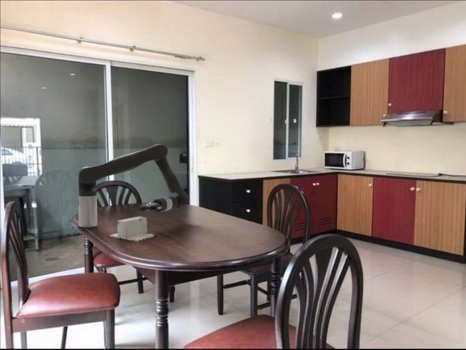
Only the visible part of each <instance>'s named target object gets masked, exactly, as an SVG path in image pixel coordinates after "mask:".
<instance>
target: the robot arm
mask: <svg viewBox="0 0 466 350" xmlns="http://www.w3.org/2000/svg"><path fill="white" fill-rule="evenodd" d="M168 153H169V149H168V147H167V146H166V145H165V144H162V143H157V144H155V145H152V146H149V147H147V148H145V149H142V150H138V151H135V152H131V153H128V154H127V153H126V154H123V155H121V156H117V157H115V158H112V159H111V160H108V161H106V162H104V163H102V164H98V165H93V166H82V168H80V170H79V171H78V174H77V175H78V176H77V177H78V200H79V201H78V206H79V207H78V209H77V213H78V219H77V220H78V226H79V227H80V228H93V227H94V228H95V227H97V226H98V202H97V201H98V200H97V198H98V195H97V191H98V190H97V182H98V181H99V180H102V179H103V178H106V177H110V176H114V175H119V174H122V173H126V172H129V171H132V170H134V169H136V168H138V167H140V166H142V165H143V164H145V163H148V162H150V161H151V162H152V161H154V163H155V164H156V165H157V167H158V169H159V171H160V172H161V175H162V177H163V179H164V181H165V183H166V186H167V188H168V191H169V192H170V194H177V195H176V196H175V197H174V196H167V197H159V198H155V199H153V200H152V201H151V202H149V203H145V202H143V203H142V204H141V206H139V208H138V210H139V211H140V212H146V211H147V212H149V211H150V212H151V211H152V212H153V211H154V212H155V213H163V212H166V211H167V212H168V211H169V210H173V209H174V210H178V209H181V208H183V207H185V206H187V205H188V204H189V203H190V196H189V195H188V193H186V191H185V190H184V189H183V187H182V186H181V184H180V181H179V180H178V178H177V176H176V174H175V172H174V171H173V170H172V168H171V167H170V165H169V161H168V159H167V156H168Z"/></svg>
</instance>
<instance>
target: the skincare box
mask: <svg viewBox="0 0 466 350" xmlns="http://www.w3.org/2000/svg"><path fill="white" fill-rule="evenodd" d="M147 224H148V219H147V217H146V216H145V217H144V216H140V215H139V216H134V217H129V218H124V219H119V220H117V228H116V230H117V233H118V237H122V238H127V237H131V236H135V235H139V234H143V233H146V234H148V227H147Z"/></svg>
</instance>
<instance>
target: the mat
mask: <svg viewBox="0 0 466 350" xmlns="http://www.w3.org/2000/svg"><path fill="white" fill-rule="evenodd" d="M154 236H155V234H153V233H143V234H139V235H135V236H131V237H127V238H122V237H118V232H117V233H112V234H110V235H109V237H110V238H116V239H120V238H121V239H122V240H126V239H127V240H128V241H132V240H133V241H132V242H139V240H140V241H143V239H144V240H147V239H150V238H154ZM146 238H147V239H146ZM121 239H120V240H121ZM127 240H126V241H127Z"/></svg>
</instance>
